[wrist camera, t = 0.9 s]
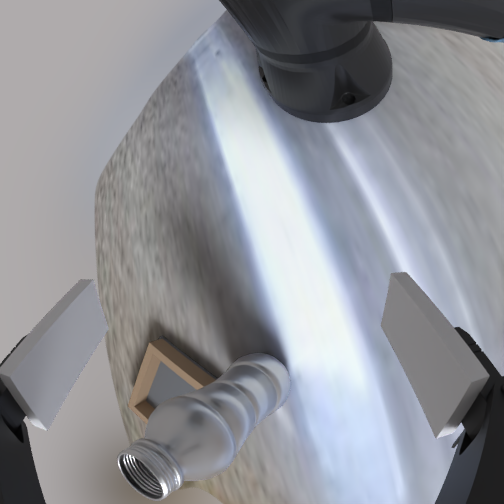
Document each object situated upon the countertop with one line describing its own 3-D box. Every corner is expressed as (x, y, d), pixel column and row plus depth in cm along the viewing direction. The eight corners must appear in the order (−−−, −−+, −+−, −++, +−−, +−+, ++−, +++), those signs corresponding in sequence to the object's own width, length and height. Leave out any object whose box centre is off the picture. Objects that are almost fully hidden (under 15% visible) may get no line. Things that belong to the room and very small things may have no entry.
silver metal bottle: (265, 412, 30) (152, 522, 12) (228, 367, 32) (88, 444, 14) (308, 383, 29) (210, 512, 10) (267, 335, 31) (126, 413, 12)
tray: (162, 335, 36) (146, 340, 34) (237, 391, 32) (224, 401, 29) (139, 397, 38) (125, 403, 35) (201, 449, 34) (189, 459, 31)
